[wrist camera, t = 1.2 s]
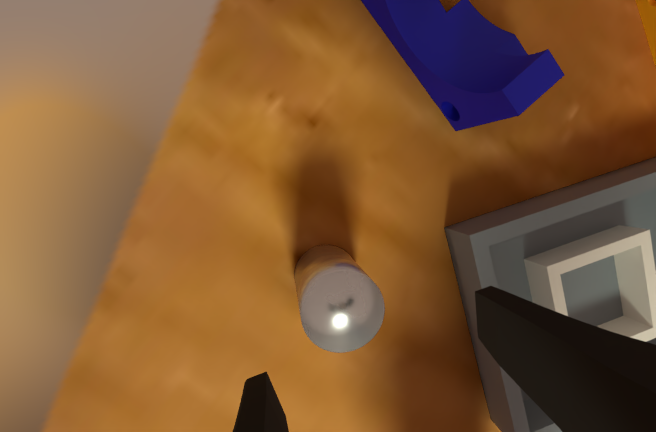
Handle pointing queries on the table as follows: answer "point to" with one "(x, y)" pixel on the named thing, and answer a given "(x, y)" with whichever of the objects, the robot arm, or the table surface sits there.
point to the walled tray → (563, 269)
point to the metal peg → (337, 300)
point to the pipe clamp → (649, 22)
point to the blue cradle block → (465, 60)
